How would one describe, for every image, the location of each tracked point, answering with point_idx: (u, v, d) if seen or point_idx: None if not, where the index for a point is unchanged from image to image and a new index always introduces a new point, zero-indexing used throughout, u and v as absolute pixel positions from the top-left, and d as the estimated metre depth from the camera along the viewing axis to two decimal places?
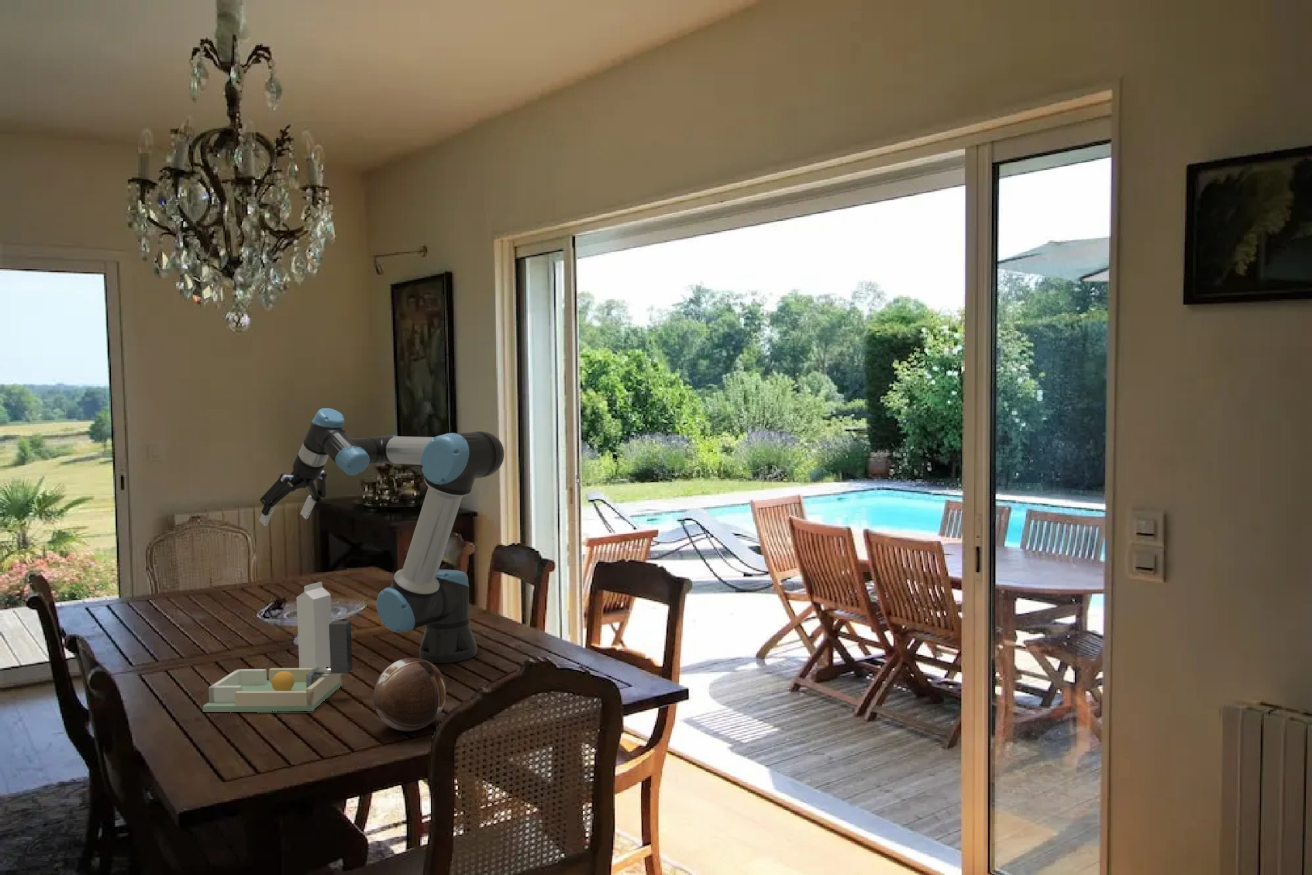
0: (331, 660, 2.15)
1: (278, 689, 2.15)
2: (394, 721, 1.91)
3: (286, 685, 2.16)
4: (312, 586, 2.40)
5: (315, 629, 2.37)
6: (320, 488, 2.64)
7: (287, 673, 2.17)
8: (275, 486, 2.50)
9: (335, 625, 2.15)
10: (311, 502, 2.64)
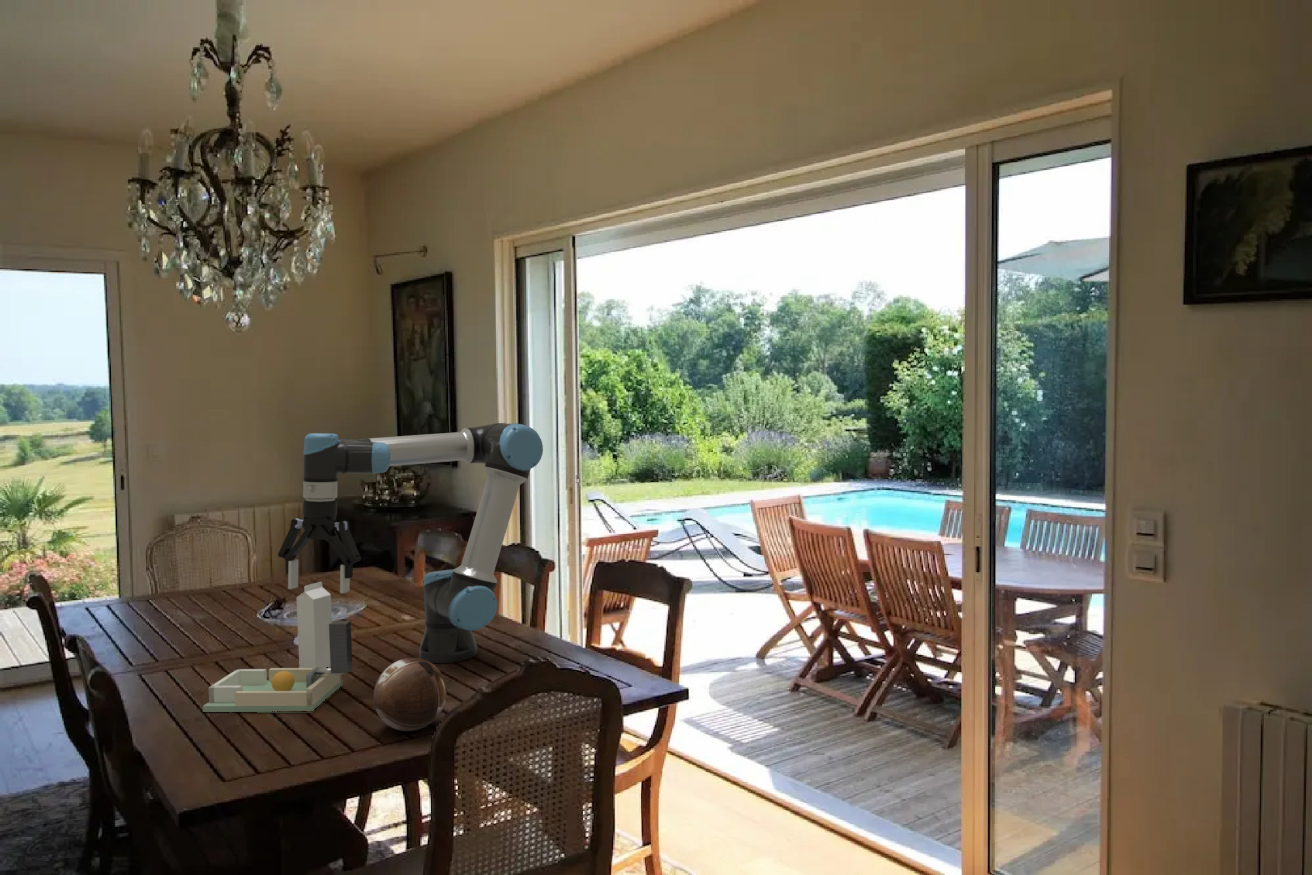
0: (331, 660, 2.15)
1: (278, 689, 2.15)
2: (394, 721, 1.91)
3: (286, 685, 2.16)
4: (312, 586, 2.40)
5: (315, 629, 2.37)
6: (292, 543, 2.20)
7: (287, 673, 2.17)
8: (348, 538, 2.15)
9: (335, 625, 2.15)
10: (296, 563, 2.20)
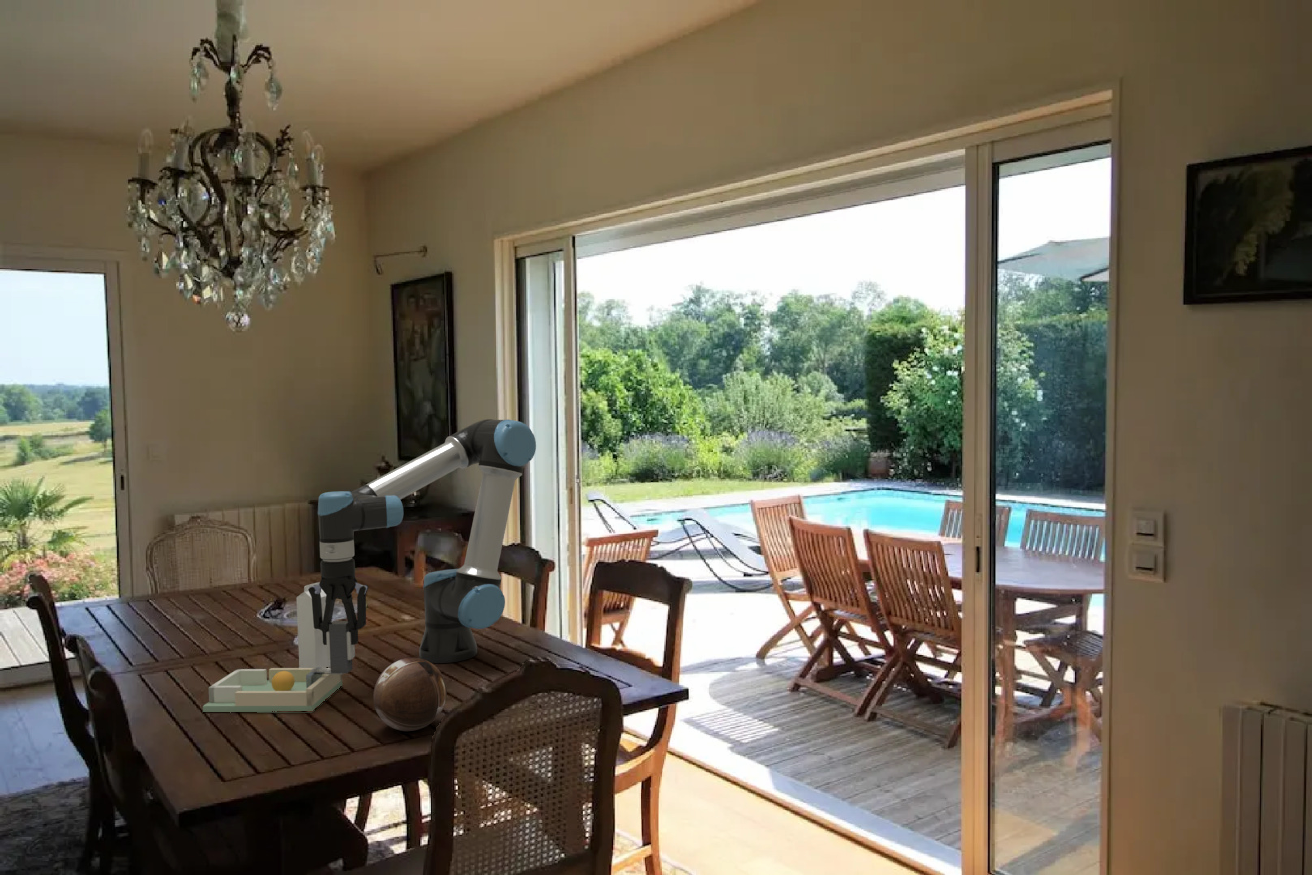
0: (331, 660, 2.15)
1: (278, 689, 2.15)
2: (394, 721, 1.91)
3: (286, 685, 2.16)
4: None
5: (315, 629, 2.37)
6: (320, 610, 2.17)
7: (287, 673, 2.17)
8: (363, 603, 2.15)
9: (335, 625, 2.15)
10: None
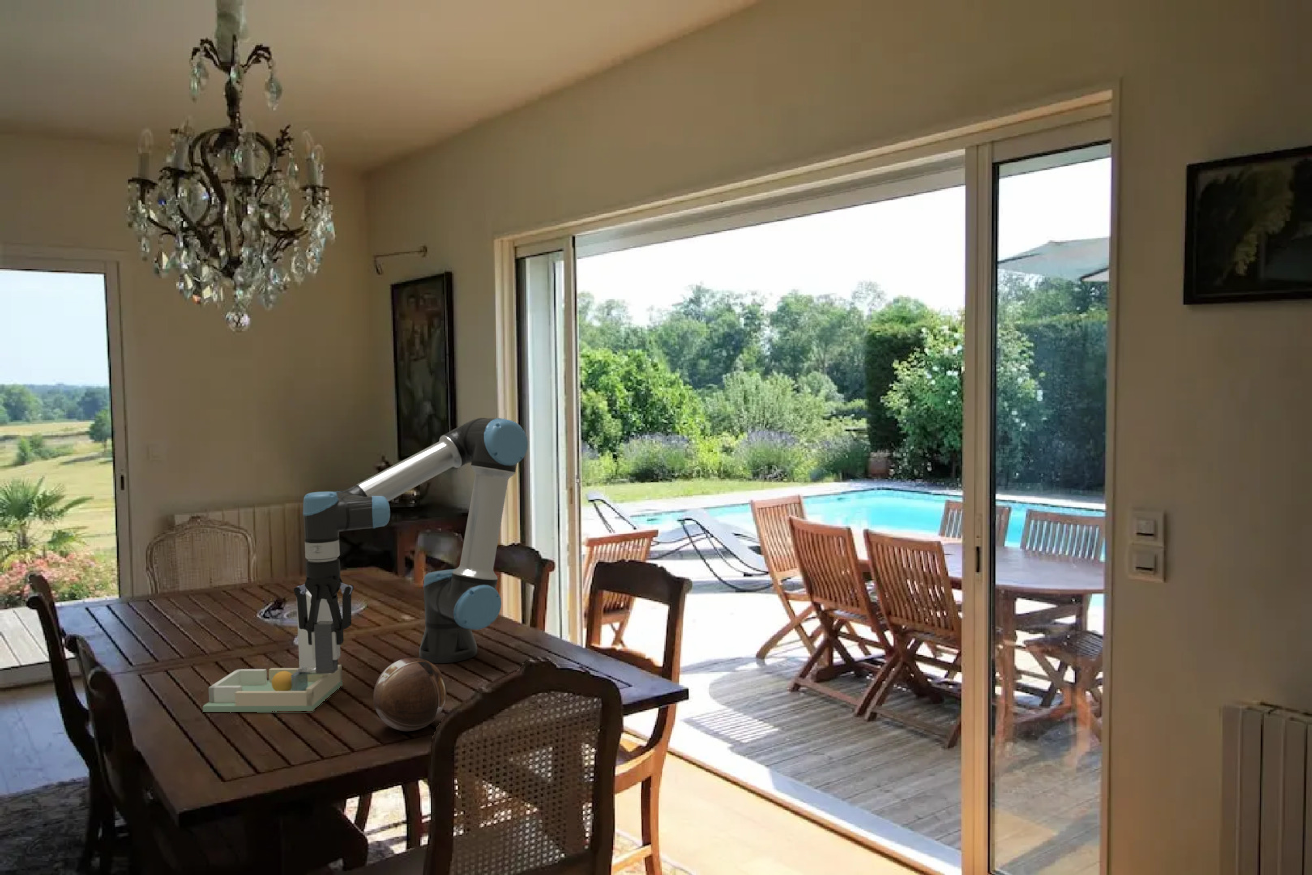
0: (316, 660, 2.15)
1: (278, 689, 2.15)
2: (394, 721, 1.91)
3: (286, 685, 2.16)
4: None
5: None
6: (306, 610, 2.17)
7: (287, 673, 2.17)
8: (348, 603, 2.15)
9: (320, 625, 2.15)
10: None
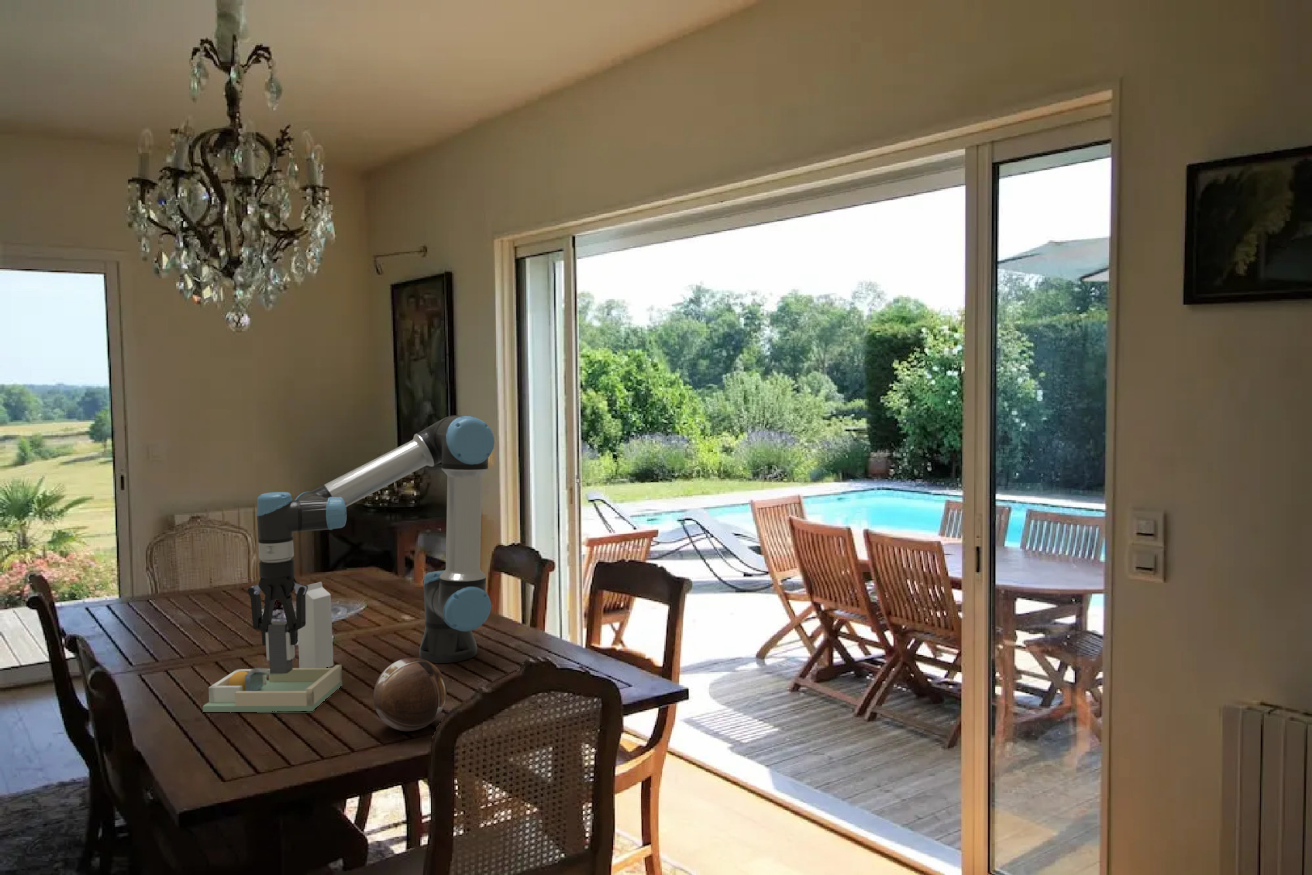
0: (270, 660, 2.16)
1: (232, 681, 2.16)
2: (394, 721, 1.91)
3: None
4: (312, 586, 2.40)
5: (315, 629, 2.37)
6: (260, 611, 2.17)
7: None
8: (302, 603, 2.16)
9: (274, 625, 2.15)
10: None
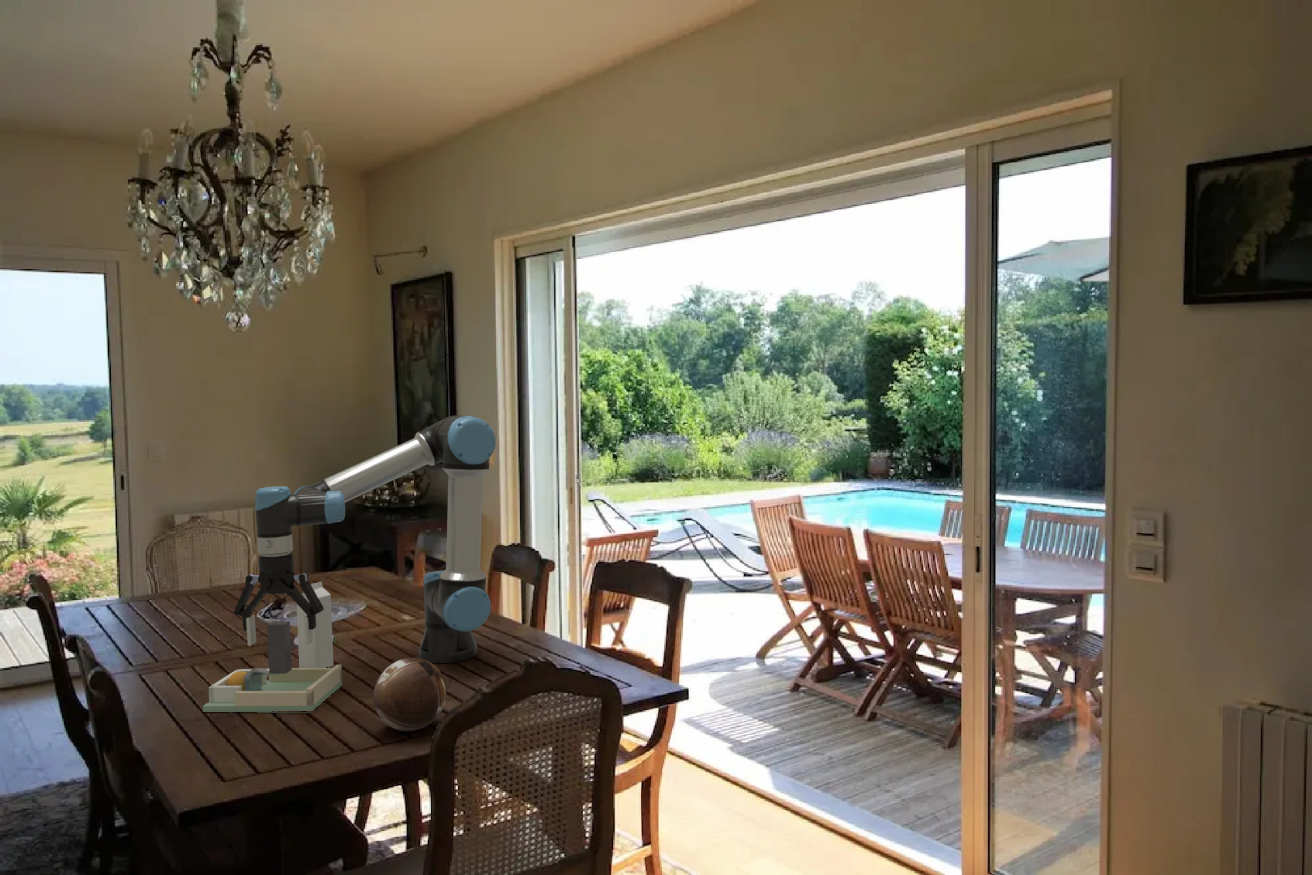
0: (269, 660, 2.16)
1: (231, 682, 2.16)
2: (394, 721, 1.91)
3: None
4: (312, 586, 2.40)
5: (315, 629, 2.37)
6: (247, 599, 2.17)
7: None
8: (310, 589, 2.16)
9: (273, 625, 2.15)
10: (253, 619, 2.18)
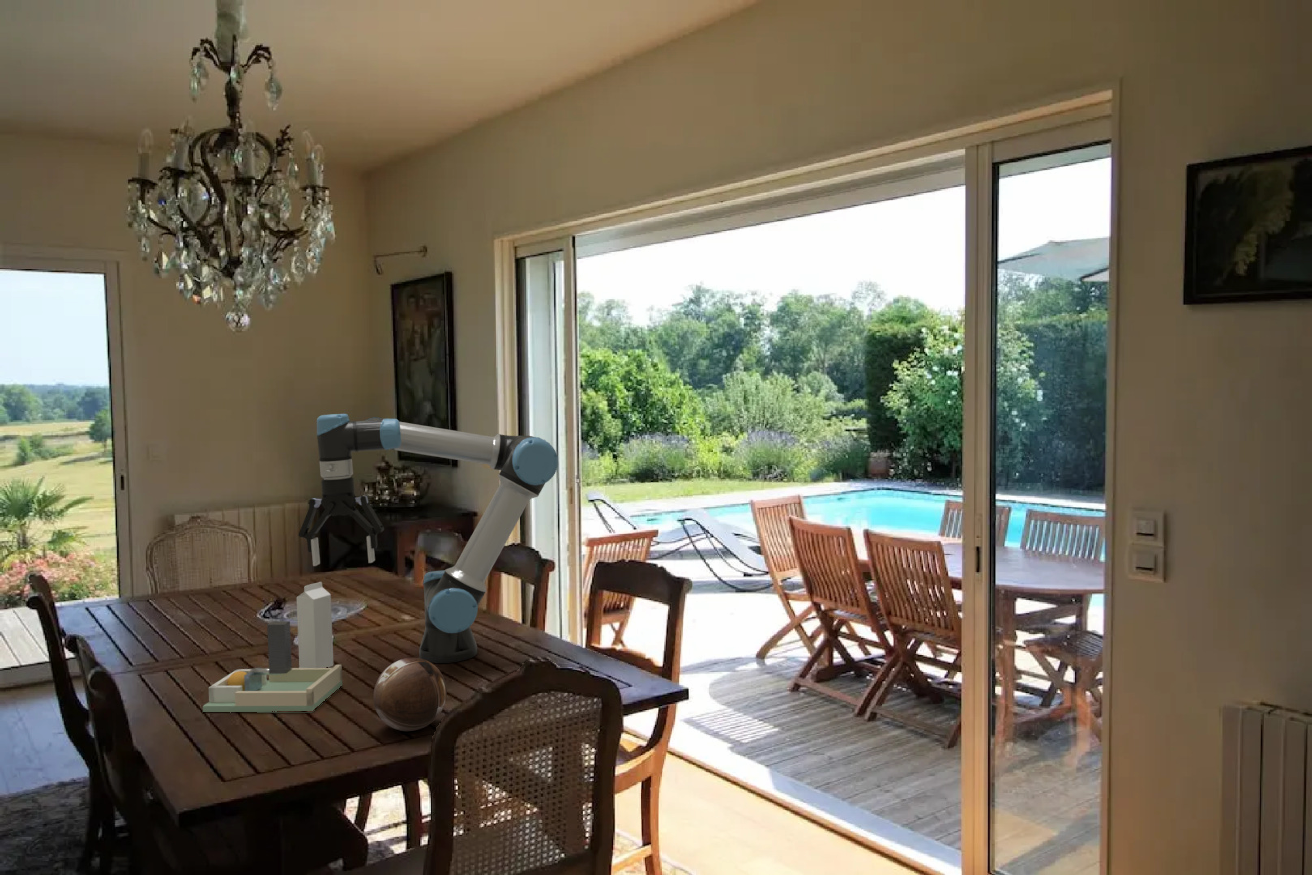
0: (269, 660, 2.16)
1: (230, 682, 2.16)
2: (394, 721, 1.91)
3: None
4: (312, 586, 2.40)
5: (315, 629, 2.37)
6: (310, 522, 2.28)
7: None
8: (371, 510, 2.27)
9: (273, 625, 2.15)
10: (317, 541, 2.29)
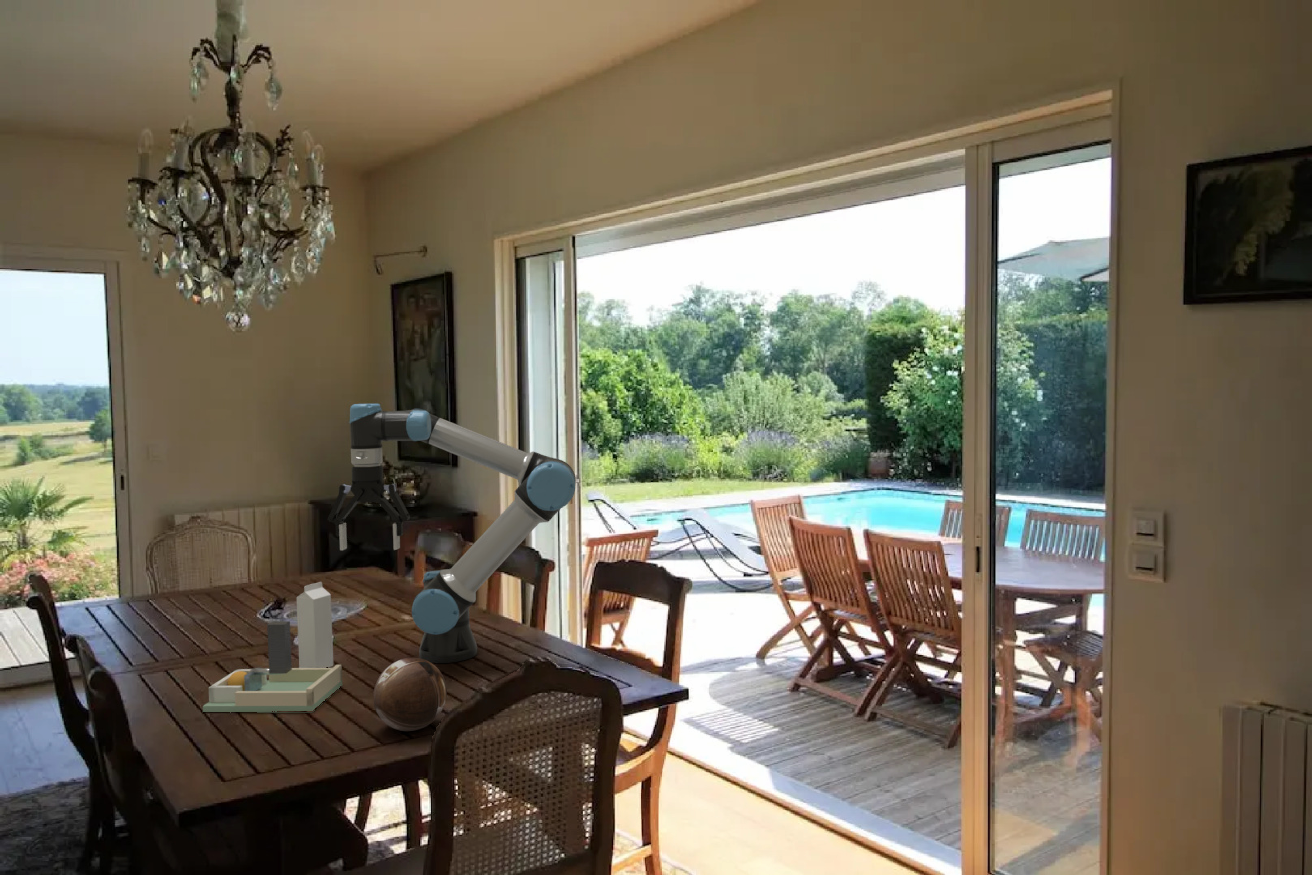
0: (269, 660, 2.16)
1: (231, 682, 2.16)
2: (394, 721, 1.91)
3: None
4: (312, 586, 2.40)
5: (315, 629, 2.37)
6: (339, 507, 2.34)
7: None
8: (398, 498, 2.33)
9: (273, 625, 2.15)
10: (345, 526, 2.35)
